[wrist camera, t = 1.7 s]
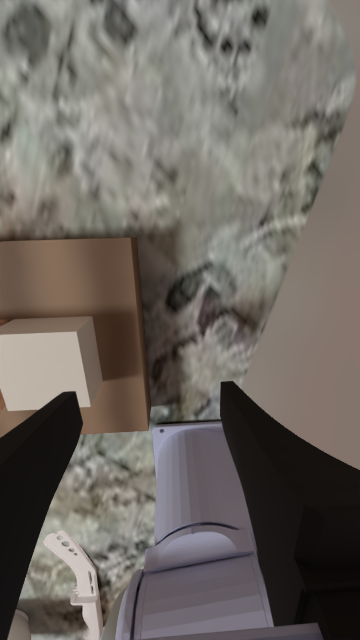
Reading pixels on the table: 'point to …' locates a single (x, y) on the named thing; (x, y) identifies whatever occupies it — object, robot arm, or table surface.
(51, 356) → the cream tile
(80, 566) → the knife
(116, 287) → the brown wooden board
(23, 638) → the lidded jar
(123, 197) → the table surface
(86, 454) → the table surface
